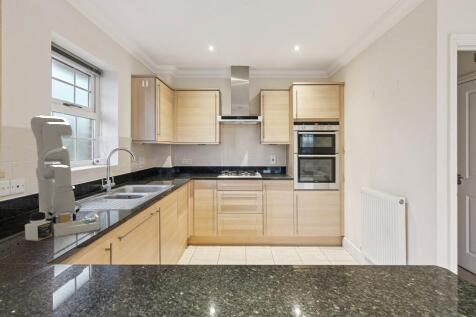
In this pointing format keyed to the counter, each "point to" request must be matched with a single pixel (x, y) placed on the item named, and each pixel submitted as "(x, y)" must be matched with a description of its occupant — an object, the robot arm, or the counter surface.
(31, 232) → the medicine bottle
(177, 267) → the counter surface
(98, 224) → the lane
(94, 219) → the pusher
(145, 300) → the counter surface
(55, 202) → the robot arm
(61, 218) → the jar
